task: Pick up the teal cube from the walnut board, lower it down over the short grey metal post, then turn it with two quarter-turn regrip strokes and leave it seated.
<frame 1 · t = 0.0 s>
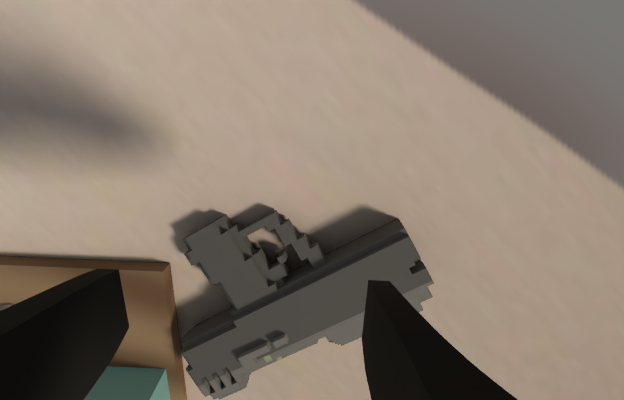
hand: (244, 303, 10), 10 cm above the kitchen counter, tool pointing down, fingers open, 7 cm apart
board: (81, 345, 23), on the kitchen counter
teal cube: (137, 392, 23), point 1 cm above the kitchen counter, touching board
toy gun: (281, 266, 21), on the kitchen counter
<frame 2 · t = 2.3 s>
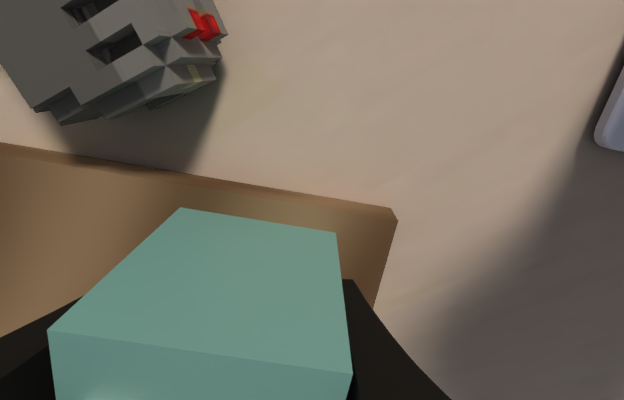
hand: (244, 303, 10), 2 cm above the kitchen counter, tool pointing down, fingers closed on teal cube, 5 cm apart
board: (166, 345, 13), on the kitchen counter
teal cube: (250, 285, 10), point 1 cm above the kitchen counter, touching board, gripper
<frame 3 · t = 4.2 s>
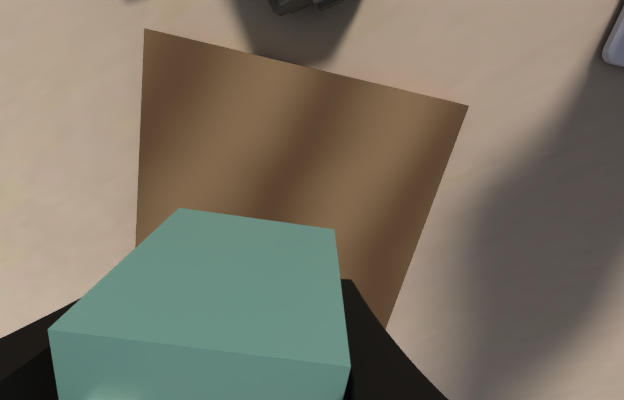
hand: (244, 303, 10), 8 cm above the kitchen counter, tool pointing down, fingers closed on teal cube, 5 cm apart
board: (282, 209, 17), on the kitchen counter
teal cube: (251, 284, 10), point 7 cm above the kitchen counter, touching gripper
when the fingers open (2 cm above the kitchen counter, at t = 6.4 s): teal cube stays where it is, resting on board.
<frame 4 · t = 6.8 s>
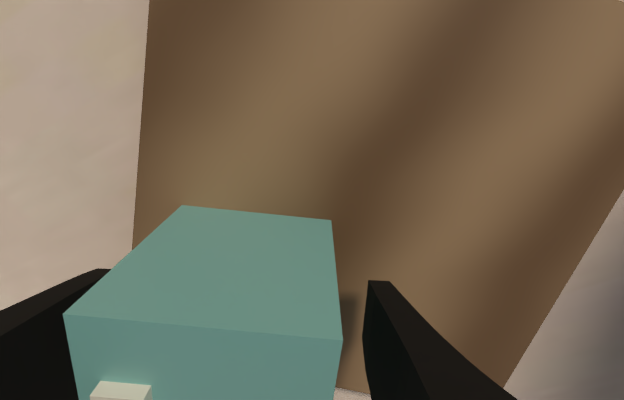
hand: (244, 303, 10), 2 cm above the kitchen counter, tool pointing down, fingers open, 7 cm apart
board: (363, 205, 11), on the kitchen counter
teal cube: (253, 276, 11), point 1 cm above the kitchen counter, touching board
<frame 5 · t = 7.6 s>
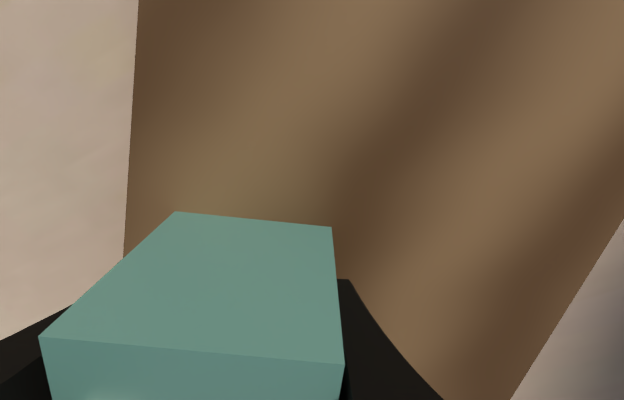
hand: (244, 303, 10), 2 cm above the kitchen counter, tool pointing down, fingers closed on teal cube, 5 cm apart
board: (365, 210, 11), on the kitchen counter
teal cube: (250, 285, 10), point 1 cm above the kitchen counter, touching board, gripper
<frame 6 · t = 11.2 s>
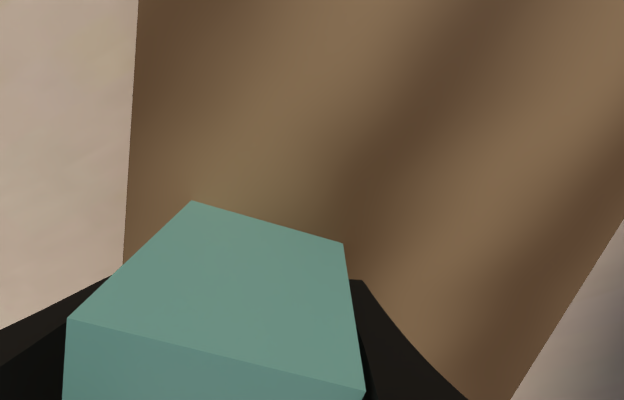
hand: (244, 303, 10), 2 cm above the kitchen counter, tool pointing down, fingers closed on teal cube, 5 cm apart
board: (365, 210, 11), on the kitchen counter
teal cube: (250, 285, 10), point 1 cm above the kitchen counter, touching board, gripper
when the fingers open (2 cm above the kitchen counter, at t = 12.1 s): teal cube stays where it is, resting on board.
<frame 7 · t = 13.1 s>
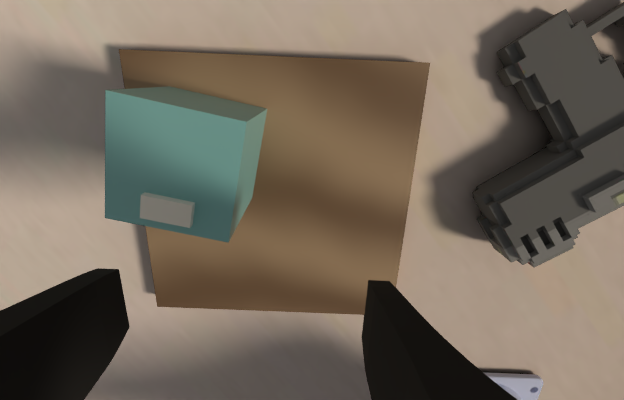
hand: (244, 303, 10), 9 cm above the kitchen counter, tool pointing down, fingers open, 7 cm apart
board: (276, 195, 18), on the kitchen counter
teal cube: (213, 145, 16), point 1 cm above the kitchen counter, touching board
toy gun: (595, 97, 17), on the kitchen counter
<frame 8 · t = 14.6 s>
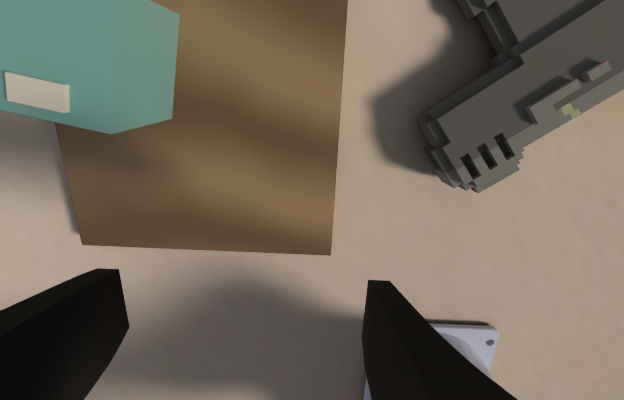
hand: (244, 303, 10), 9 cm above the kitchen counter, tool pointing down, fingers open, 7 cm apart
board: (203, 120, 17), on the kitchen counter
teal cube: (125, 57, 15), point 1 cm above the kitchen counter, touching board
toy gun: (543, 11, 16), on the kitchen counter
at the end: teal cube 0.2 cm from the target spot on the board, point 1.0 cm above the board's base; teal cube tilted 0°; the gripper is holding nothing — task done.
